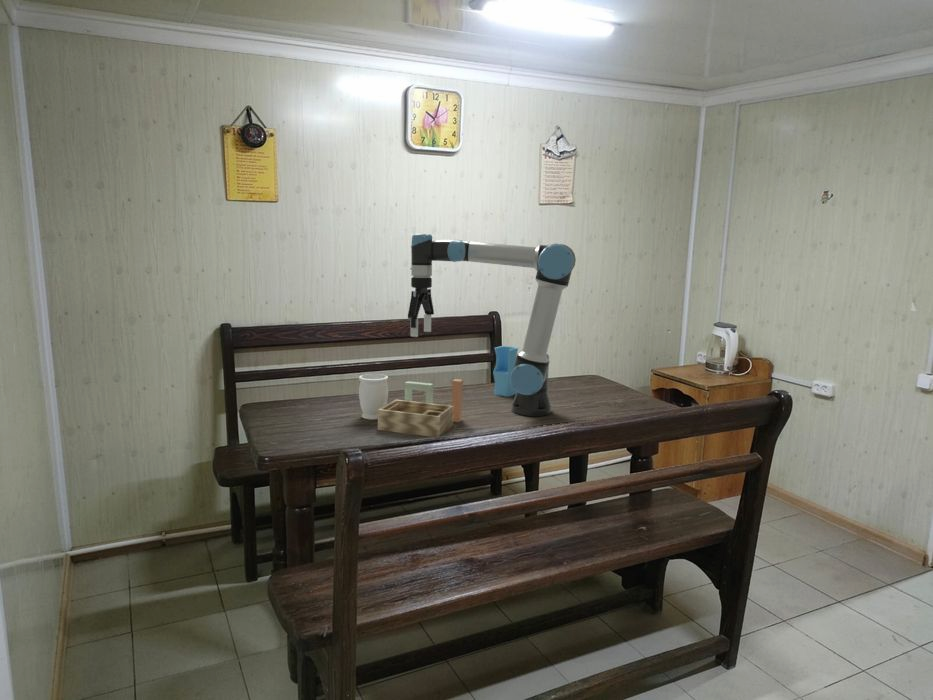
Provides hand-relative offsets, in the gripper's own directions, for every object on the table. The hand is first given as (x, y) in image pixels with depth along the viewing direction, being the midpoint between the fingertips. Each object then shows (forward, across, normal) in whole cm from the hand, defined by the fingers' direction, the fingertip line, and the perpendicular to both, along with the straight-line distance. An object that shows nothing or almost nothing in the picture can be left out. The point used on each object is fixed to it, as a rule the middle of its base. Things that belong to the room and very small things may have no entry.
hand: (421, 334), depth 234 cm
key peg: (+29, +8, +17) cm, 35 cm away
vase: (+30, -39, +24) cm, 54 cm away
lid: (+29, 0, +2) cm, 29 cm away
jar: (+29, +15, -12) cm, 35 cm away
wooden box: (+29, +21, +7) cm, 37 cm away
